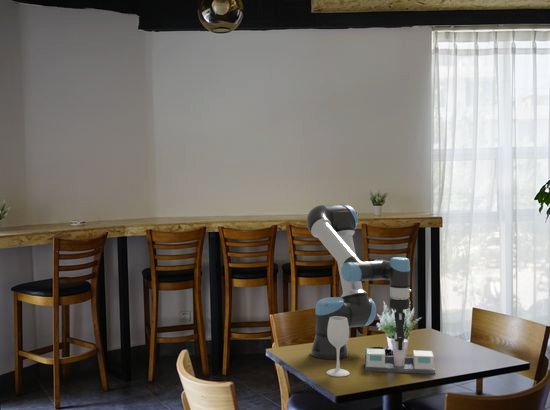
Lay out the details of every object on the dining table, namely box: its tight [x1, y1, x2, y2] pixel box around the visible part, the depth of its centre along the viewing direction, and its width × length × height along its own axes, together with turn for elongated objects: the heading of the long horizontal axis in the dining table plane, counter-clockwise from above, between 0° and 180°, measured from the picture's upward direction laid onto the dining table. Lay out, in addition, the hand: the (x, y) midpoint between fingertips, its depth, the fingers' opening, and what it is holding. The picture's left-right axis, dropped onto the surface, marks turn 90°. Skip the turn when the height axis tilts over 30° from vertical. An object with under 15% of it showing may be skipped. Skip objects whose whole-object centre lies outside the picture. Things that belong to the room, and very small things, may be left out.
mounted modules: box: [365, 347, 435, 370], centre depth 244 cm, size 25×8×5 cm, turn 81°
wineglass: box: [326, 316, 350, 378], centre depth 238 cm, size 9×9×21 cm
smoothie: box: [390, 337, 409, 366], centre depth 244 cm, size 6×6×14 cm
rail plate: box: [364, 354, 436, 375], centre depth 245 cm, size 26×10×4 cm, turn 81°
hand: (399, 354), depth 245 cm, fingers open, 11 cm apart
